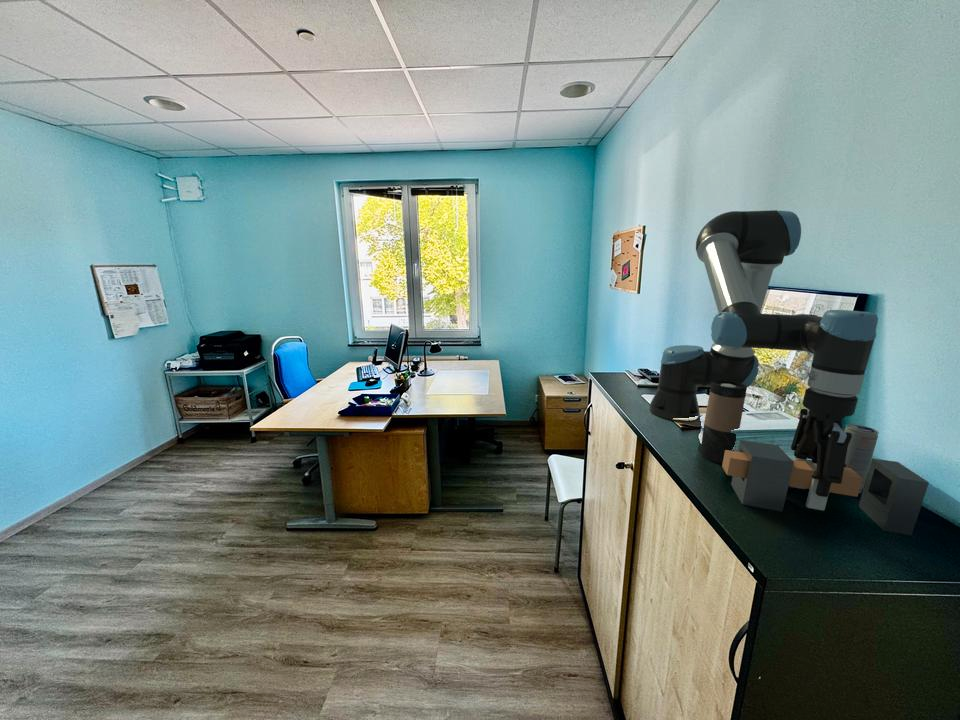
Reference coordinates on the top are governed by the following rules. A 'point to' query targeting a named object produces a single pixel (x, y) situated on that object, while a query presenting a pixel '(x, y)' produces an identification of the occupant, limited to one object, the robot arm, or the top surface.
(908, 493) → the socket
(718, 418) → the travel mug
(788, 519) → the top surface
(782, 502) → the sleeve
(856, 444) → the beverage can
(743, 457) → the orange bar
